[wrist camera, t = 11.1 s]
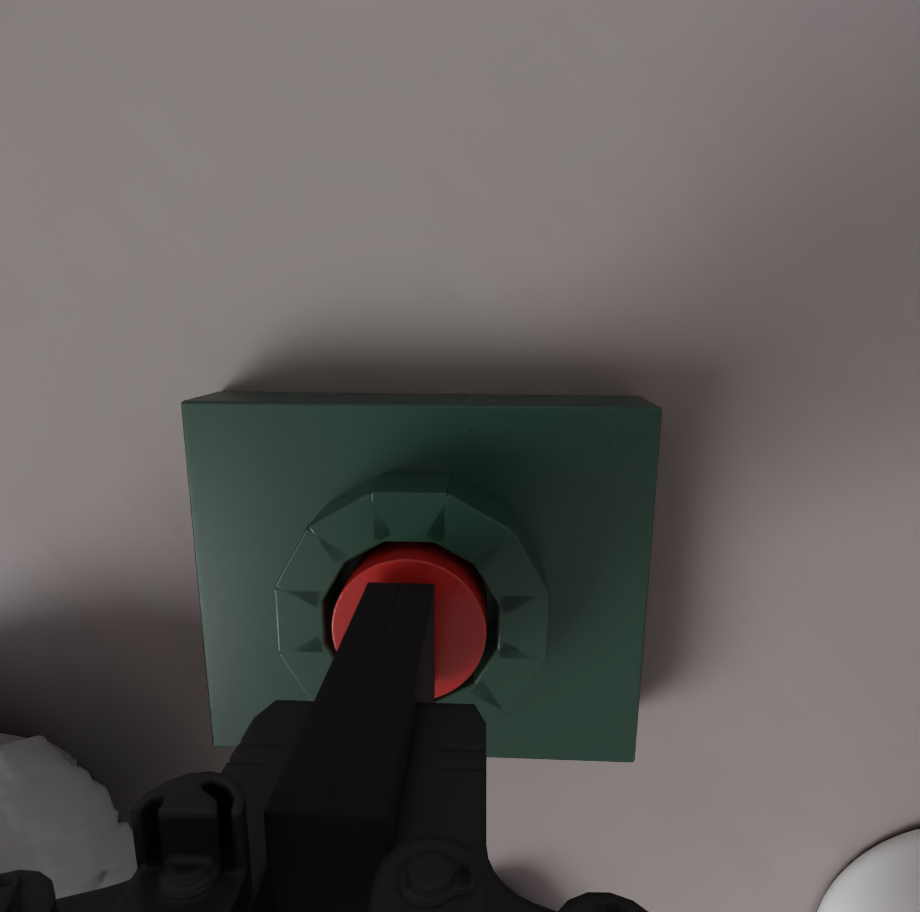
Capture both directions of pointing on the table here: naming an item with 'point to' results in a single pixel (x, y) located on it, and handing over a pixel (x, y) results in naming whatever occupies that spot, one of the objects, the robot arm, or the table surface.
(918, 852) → the mug
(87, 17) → the table surface
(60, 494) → the table surface
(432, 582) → the button
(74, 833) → the grey clay mound
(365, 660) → the robot arm
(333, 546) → the green button panel
